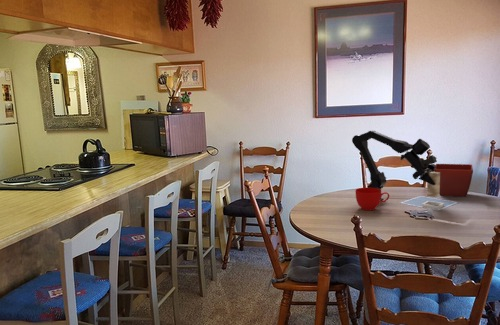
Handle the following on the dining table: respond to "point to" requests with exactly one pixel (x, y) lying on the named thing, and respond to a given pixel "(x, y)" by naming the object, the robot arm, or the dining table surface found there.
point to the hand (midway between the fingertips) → (436, 183)
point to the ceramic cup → (369, 198)
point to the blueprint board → (421, 199)
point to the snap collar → (433, 205)
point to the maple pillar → (434, 189)
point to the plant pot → (454, 179)
